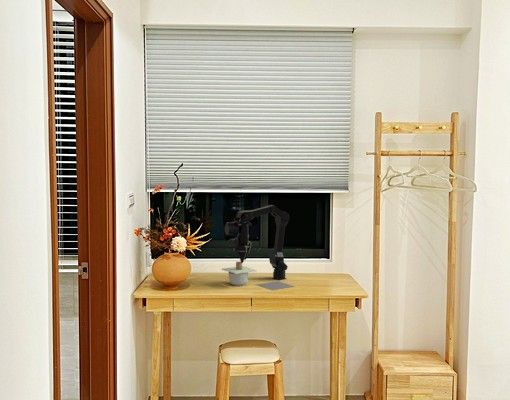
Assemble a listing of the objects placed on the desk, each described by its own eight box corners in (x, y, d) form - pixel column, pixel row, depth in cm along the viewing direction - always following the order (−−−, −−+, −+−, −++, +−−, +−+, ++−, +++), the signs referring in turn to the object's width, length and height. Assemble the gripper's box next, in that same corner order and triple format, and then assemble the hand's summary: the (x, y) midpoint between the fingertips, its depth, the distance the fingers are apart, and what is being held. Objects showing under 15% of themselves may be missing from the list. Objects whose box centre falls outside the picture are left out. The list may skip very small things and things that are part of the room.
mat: (277, 282, 329) (277, 281, 329) (295, 287, 316) (295, 286, 316) (255, 285, 320) (255, 284, 320) (272, 291, 307) (272, 290, 307)
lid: (242, 267, 331) (242, 259, 331) (256, 271, 320) (256, 262, 319) (221, 269, 323) (221, 261, 323) (235, 274, 312) (235, 265, 311)
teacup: (245, 287, 314) (245, 273, 314) (226, 286, 316) (226, 272, 316) (251, 282, 328) (251, 268, 327) (232, 281, 330) (232, 267, 329)
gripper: (232, 231, 333) (232, 257, 334) (225, 235, 315) (225, 264, 316) (251, 231, 331) (251, 258, 333) (245, 236, 313) (246, 264, 314)
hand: (243, 261), depth 324 cm, fingers open, 9 cm apart
